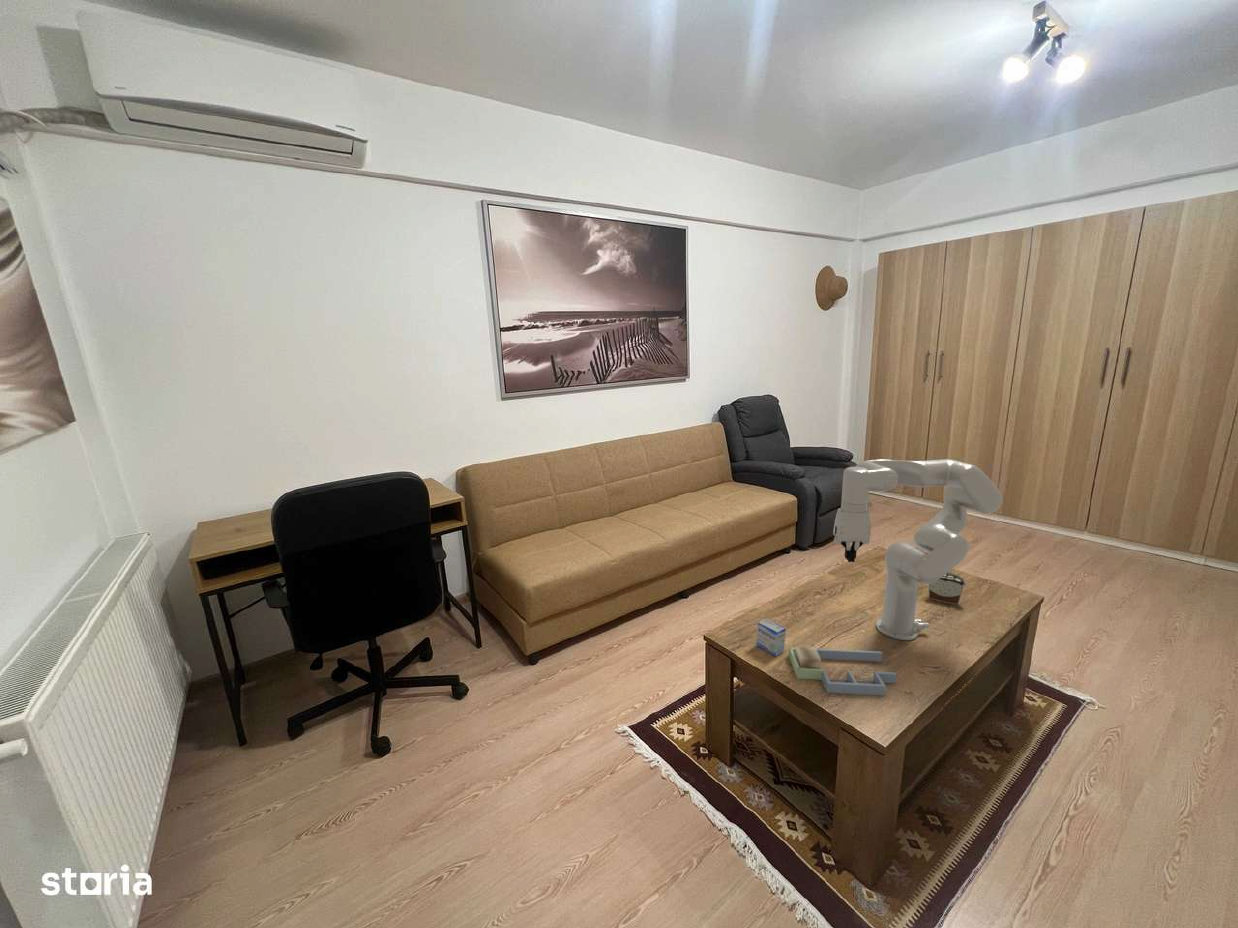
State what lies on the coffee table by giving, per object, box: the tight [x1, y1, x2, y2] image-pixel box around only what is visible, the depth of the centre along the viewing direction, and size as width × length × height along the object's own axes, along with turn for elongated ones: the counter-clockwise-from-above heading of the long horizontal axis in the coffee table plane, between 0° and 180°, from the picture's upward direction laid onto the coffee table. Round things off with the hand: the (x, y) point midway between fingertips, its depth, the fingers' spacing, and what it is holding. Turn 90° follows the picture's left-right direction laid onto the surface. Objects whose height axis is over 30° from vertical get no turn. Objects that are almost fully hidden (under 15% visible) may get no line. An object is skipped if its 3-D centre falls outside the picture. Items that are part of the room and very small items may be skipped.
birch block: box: [794, 646, 822, 669], centre depth 151 cm, size 6×6×5 cm
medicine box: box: [755, 618, 787, 657], centre depth 160 cm, size 8×4×9 cm, turn 37°
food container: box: [928, 571, 967, 606], centre depth 188 cm, size 12×6×10 cm, turn 58°
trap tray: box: [788, 647, 898, 696], centre depth 147 cm, size 28×17×3 cm, turn 84°
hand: (850, 560), depth 159 cm, fingers closed
